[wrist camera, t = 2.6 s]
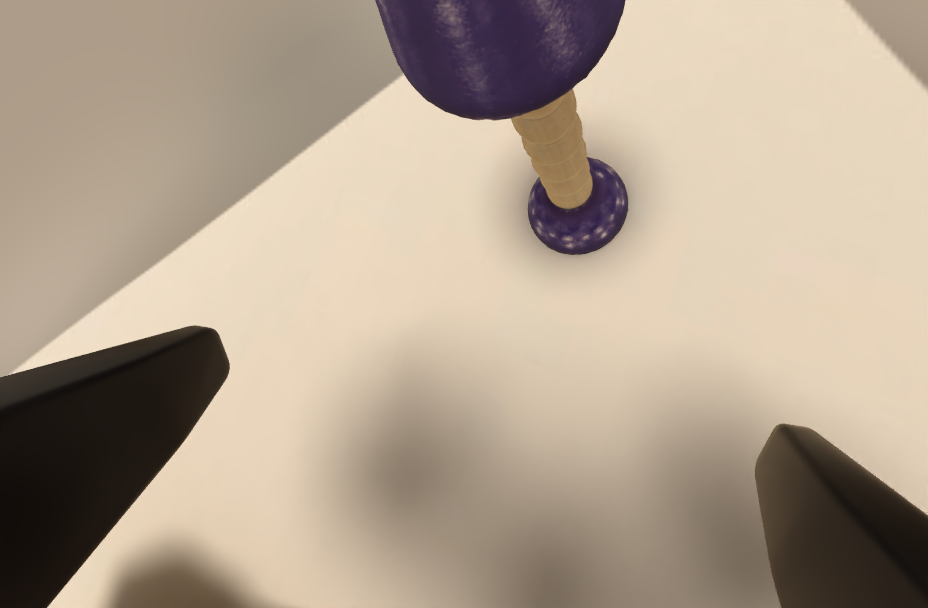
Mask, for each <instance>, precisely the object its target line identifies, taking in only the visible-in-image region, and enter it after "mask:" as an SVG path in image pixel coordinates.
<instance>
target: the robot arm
mask: <svg viewBox="0 0 928 608" xmlns="http://www.w3.org/2000/svg"><path fill="white" fill-rule="evenodd" d="M229 369H230V364H229V360H228V357H227V355H226V352H225V349H224V347H223V344H222V341H221V339H220V336H219V334H218V333H217V331H216V330H214V329H212V328H207V327H201V326H188V327H185V328H181V329H177V330H173V331H170V332H166V333H162V334H159V335H155V336H151V337H148V338H144V339H140V340H137V341H133V342H129V343H126V344H122V345H118V346H115V347H111V348H107V349H103V350H100V351H96V352H92V353H89V354H85V355H81V356H78V357H74V358H70V359H67V360H63V361H59V362H56V363H52V364H48V365H45V366H41V367H37V368H34V369H30V370H26V371H22V372H19V373H15V374H11V375H8V376H4V377H0V608H47V607H48V606H49V605H50V603H51V602H52V601H53V600H54V598H55V597H56V596H57V595H58V594H59V592H60V591H61V590H62V589H63V588H64V586H65V585H66V584H67V583H68V582H69V580H70V579H71V578H72V577H73V575H74V574H75V573H76V572H77V571H78V569H79V568H80V567H81V566H82V565H83V563H84V562H85V561H86V560H87V559H88V557H89V556H90V555H91V554H92V553H93V551H94V550H95V549H96V548H97V546H98V545H99V544H100V543H101V542H102V540H103V539H104V538H105V537H106V536H107V534H108V533H109V532H110V531H111V530H112V528H113V527H114V526H115V525H116V524H117V522H118V521H119V520H120V519H121V517H122V516H123V515H124V514H125V513H126V511H127V510H128V509H129V508H130V507H131V505H132V504H133V503H134V502H135V501H136V499H137V498H138V497H139V496H140V495H141V493H142V492H143V491H144V490H145V488H146V487H147V486H148V485H149V484H150V482H151V481H152V480H153V479H154V478H155V476H156V475H157V474H158V473H159V472H160V470H161V469H162V468H163V467H164V466H165V464H166V463H167V462H168V461H169V459H170V458H171V457H172V456H173V455H174V453H175V452H176V451H177V450H178V448H179V447H180V446H181V445H182V443H183V442H184V441H185V439H186V438H187V436H188V435H189V433H190V432H191V431H192V429H193V428H194V426H195V425H196V423H197V422H198V420H199V419H200V417H201V416H202V414H203V413H204V411H205V410H206V408H207V407H208V405H209V404H210V402H211V401H212V399H213V398H214V396H215V395H216V393H217V392H218V391H219V389H220V388H221V386H222V385H223V383H224V382H225V380H226V378H227V376H228V374H229ZM755 479H756V485H757V491H758V497H759V503H760V509H761V515H762V521H763V527H764V533H765V539H766V545H767V551H768V557H769V562H770V567H771V572H772V576H773V579H774V583H775V587H776V591H777V594H778V597H779V601H780V604H781V608H928V515H927V514H925V513H924V512H923V511H921V510H920V509H919V508H917V507H916V506H915V505H913V504H912V503H910V502H909V501H908V500H906V499H905V498H904V497H902V496H901V495H900V494H898V493H897V492H896V491H894V490H893V489H892V488H890V487H889V486H888V485H886V484H885V483H884V482H882V481H881V480H880V479H878V478H877V477H876V476H874V475H873V474H872V473H870V472H869V471H868V470H866V469H865V468H864V467H862V466H861V465H859V464H858V463H857V462H855V461H854V460H853V459H851V458H850V457H849V456H847V455H846V454H845V453H843V452H842V451H841V450H839V449H838V448H837V447H835V446H834V445H833V444H831V443H830V442H829V441H827V440H826V439H825V438H823V437H822V436H821V435H819V434H818V433H817V432H815V431H814V430H812V429H810V428H807V427H801V426H795V425H789V424H779V425H777V426H776V427H775V428H774V430H773V431H772V433H771V435H770V437H769V438H768V440H767V442H766V444H765V446H764V447H763V449H762V451H761V453H760V455H759V457H758V459H757V462H756V467H755Z"/></svg>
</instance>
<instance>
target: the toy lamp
mask: <svg viewBox="0 0 928 608" xmlns="http://www.w3.org/2000/svg"><path fill="white" fill-rule="evenodd" d="M376 4H377V6H378V9H379V12H380V16H381V18H382V22H383V25H384V28H385V31H386V34H387V36H388V39H389V42H390V45H391V48H392V51H393V53H394V55H395V57H396V60H397V63H398V65H399V66H400V68H401V70H402V71H403V73H404V75H405V76H406V78H407V79H408V81H409V82H410V83H411V85H412V86H413V87H414V88H415V89H416V90H417V91H418V92H419V93H420V94H421V95H422V96H423V97H424V98H425V99H426V100H427V101H428V102H431V103H432V104H434V105H435V106H437V107H438V108H440V109H442V110H443V111H445V112H448V113H451V114H454V115H457V116H459V117H463V118H469V119H473V120H484V119H489V120H501V119H509V118H511V120H512V123H513V125H514V127H515V129H516V131H517V132H518V133H519V134H520V136H521V137H522V142H523V146H524V148H525V150H526V152H527V154H528V155H529V156H530V157H531V161H532V165H533V167H534V169H535V171H536V172H537V174H538V175H539V176H540V177H539V178H538V179H537V181H536V182H535V184H534V185H533V188H532V190H531V193H530V197H529V202H528V215H529V221H530V224H531V227H532V229H533V231H534V233H535V234H536V236H537V237H538V238H539V239H540V240H541V241H542V242H543V243H544V244H545V245H546V246H547V247H549V248H551V249H553V250H555V251H558V252H560V253H565V254H585V253H589V252H591V251H595V250H597V249H599V248H601V247H603V246H604V245H605V244H607V243H608V242H610V241H611V240H612V239H613V238H614V236H615V235H616V234H617V233H618V232H619V230H620V229H621V227H622V225H623V223H624V221H625V218H626V214H627V211H628V197H627V191H626V188H625V185H624V183H623V181H622V180H621V178H620V177H619V175H618V174H617V173H616V172H615V171H614V170H613V169H612V168H611V167H610V166H608V165H607V164H605V163H604V162H602V161H600V160H597V159H593V158H588V157H586V145H585V142H584V140H583V138H582V123H581V120H580V118H579V116H578V114H577V113H576V107H577V106H576V98H575V95H574V91H573V88H574V86H575V85H576V84H577V83H579V82H580V81H582V80H583V79H585V78H586V77H587V76H588V74H589V73H590V71H591V70H592V69H593V68H594V67H595V66H596V65H597V63H598V62H599V60H600V59H601V57H602V56H603V54H604V53H605V51H606V50H607V48H608V46H609V44H610V42H611V40H612V39H613V37H614V35H615V33H616V30H617V27H618V25H619V22H620V18H621V16H622V14H623V10H624V5H625V0H376Z"/></svg>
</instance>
